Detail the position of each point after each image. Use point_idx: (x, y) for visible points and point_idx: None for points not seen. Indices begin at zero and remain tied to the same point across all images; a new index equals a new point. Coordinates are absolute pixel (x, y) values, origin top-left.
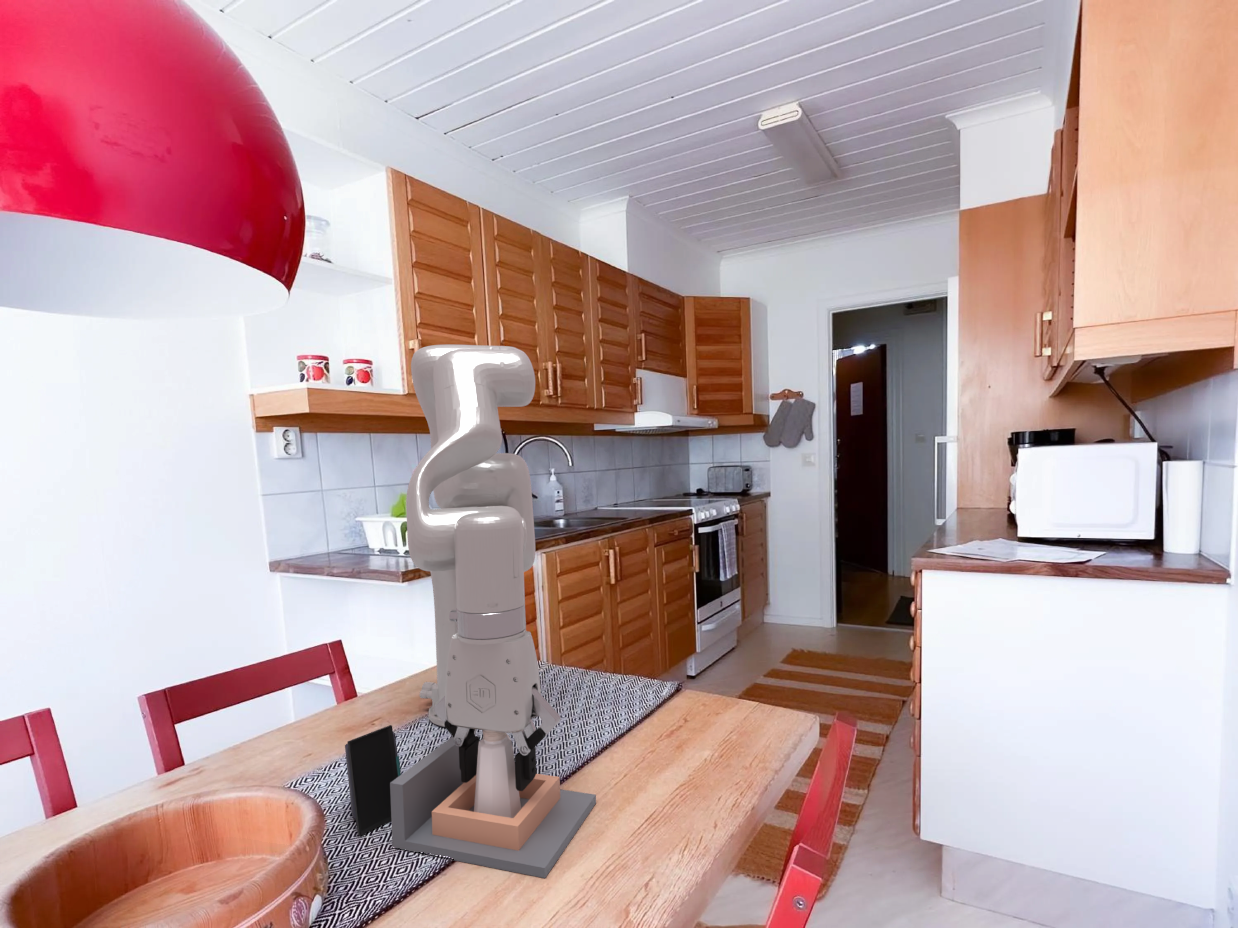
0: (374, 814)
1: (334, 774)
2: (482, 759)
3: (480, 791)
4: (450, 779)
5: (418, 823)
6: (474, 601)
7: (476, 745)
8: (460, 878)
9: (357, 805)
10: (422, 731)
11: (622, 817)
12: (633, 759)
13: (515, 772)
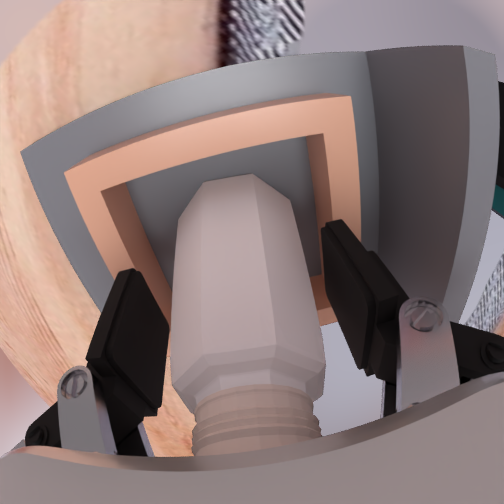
0: None
1: None
2: (258, 296)
3: (251, 215)
4: (400, 246)
5: (378, 103)
6: None
7: (356, 344)
8: (161, 37)
9: (500, 84)
10: (483, 324)
11: (73, 326)
12: (179, 411)
13: (122, 305)
